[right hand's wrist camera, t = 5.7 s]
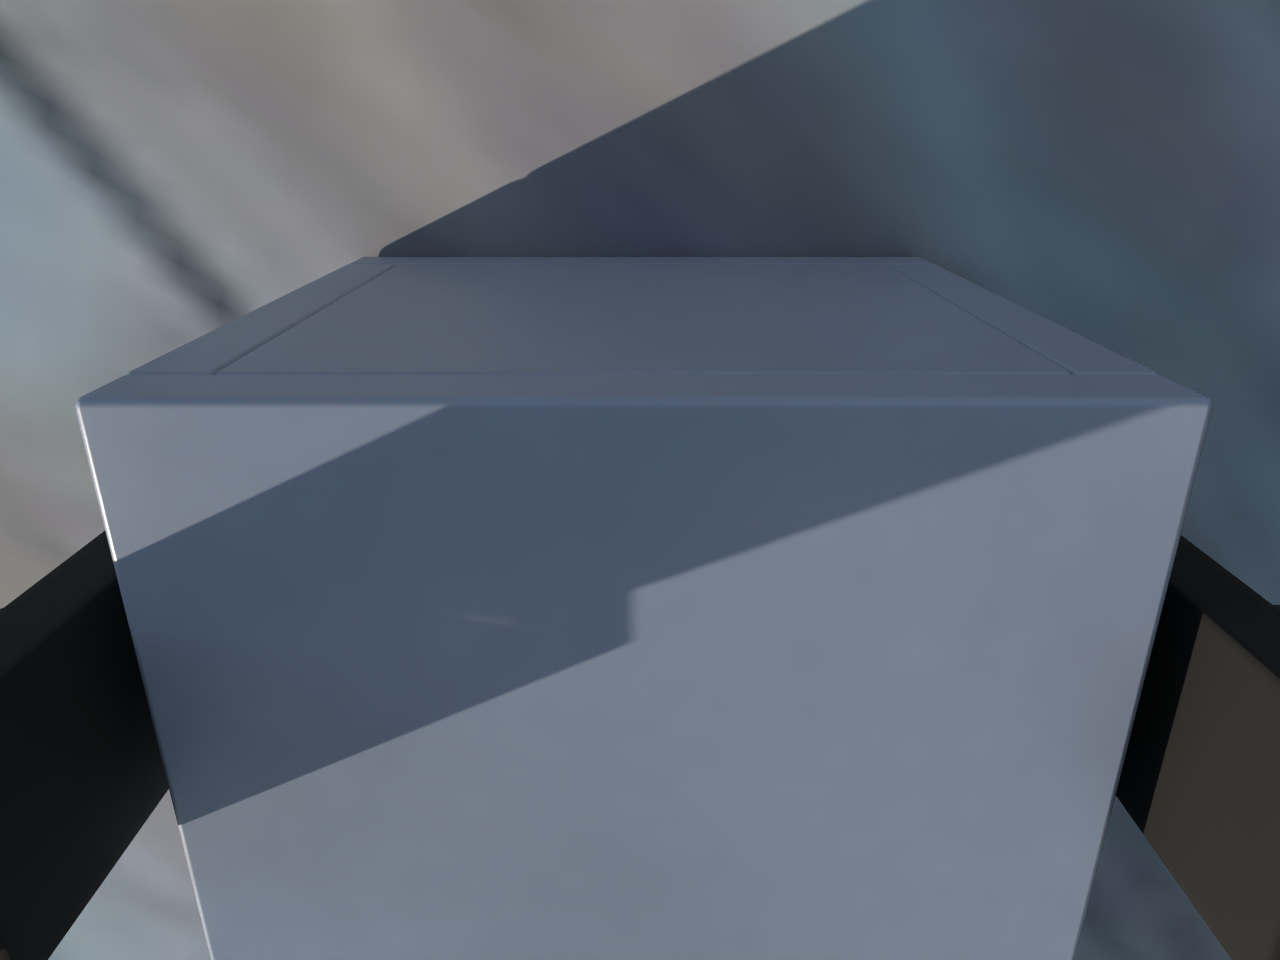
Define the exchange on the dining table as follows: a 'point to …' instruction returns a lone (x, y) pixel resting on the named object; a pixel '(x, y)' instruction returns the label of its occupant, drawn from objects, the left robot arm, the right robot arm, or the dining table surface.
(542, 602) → the cabinet
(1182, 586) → the right robot arm
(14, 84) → the dining table surface
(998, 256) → the dining table surface
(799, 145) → the dining table surface
